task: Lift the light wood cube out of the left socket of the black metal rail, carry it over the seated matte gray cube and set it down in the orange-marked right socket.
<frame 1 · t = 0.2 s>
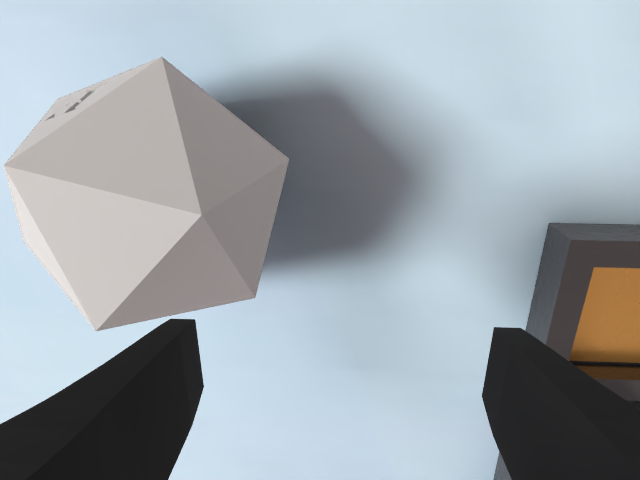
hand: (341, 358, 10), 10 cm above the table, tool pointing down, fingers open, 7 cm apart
rail: (583, 415, 23), on the table
die: (194, 173, 19), on the table
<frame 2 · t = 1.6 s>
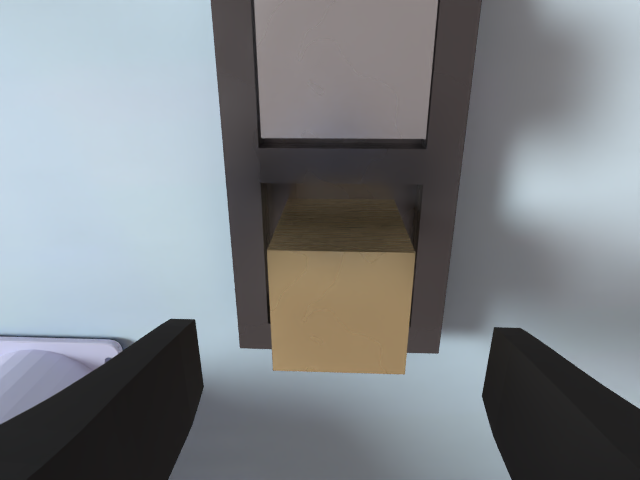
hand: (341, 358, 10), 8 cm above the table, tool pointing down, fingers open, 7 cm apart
light wood cube: (339, 247, 17), point 1 cm above the table, touching rail
rail: (343, 55, 15), on the table
matte gray cube: (343, 54, 14), point 1 cm above the table, touching rail
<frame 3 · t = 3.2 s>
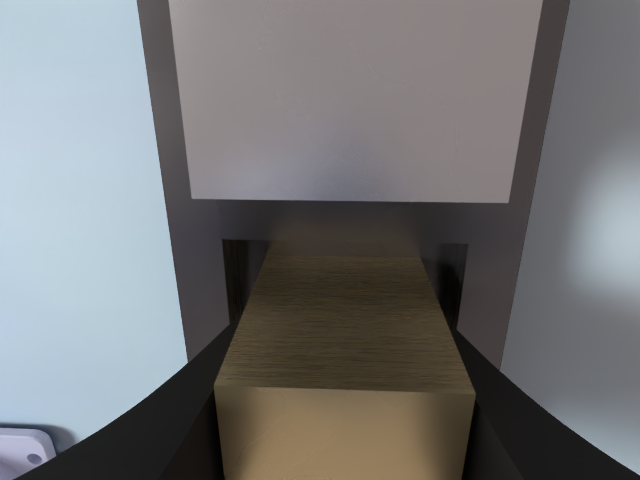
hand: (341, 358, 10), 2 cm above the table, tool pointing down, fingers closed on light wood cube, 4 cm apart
light wood cube: (341, 321, 12), point 1 cm above the table, touching gripper, rail
rail: (346, 47, 10), on the table
matte gray cube: (347, 45, 9), point 1 cm above the table, touching rail
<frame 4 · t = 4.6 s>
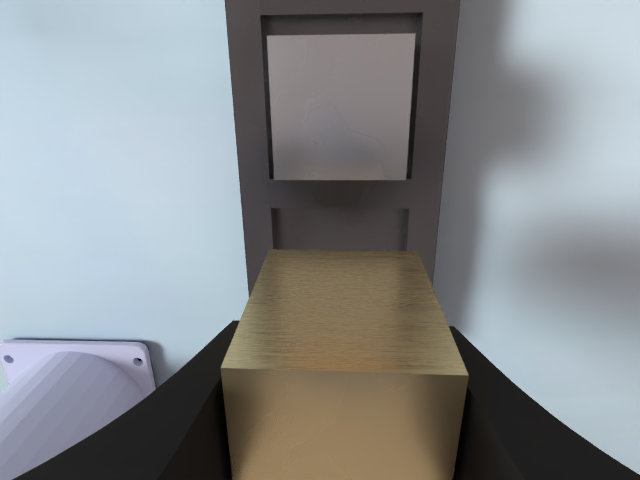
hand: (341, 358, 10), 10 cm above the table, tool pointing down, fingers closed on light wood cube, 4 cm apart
light wood cube: (341, 314, 12), point 8 cm above the table, touching gripper
rail: (340, 98, 18), on the table
matte gray cube: (340, 99, 17), point 1 cm above the table, touching rail
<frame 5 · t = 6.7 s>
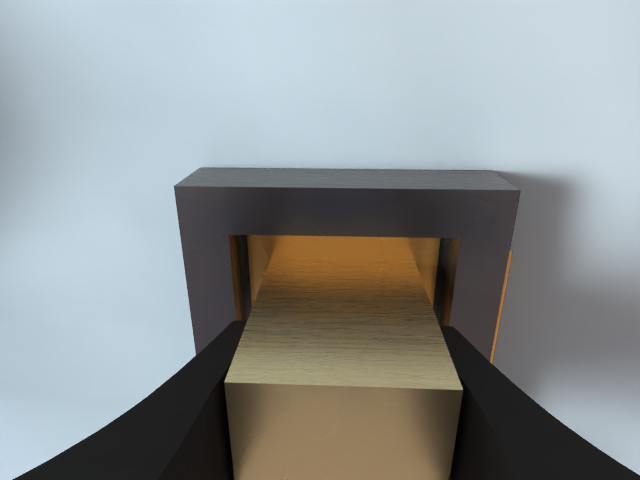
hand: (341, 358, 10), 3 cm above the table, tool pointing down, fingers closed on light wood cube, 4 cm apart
light wood cube: (341, 323, 13), point 1 cm above the table, touching gripper, rail
rail: (338, 463, 16), on the table
when the fingers open (3 cm above the table, at t = 7.3 s): light wood cube stays where it is, resting on rail.
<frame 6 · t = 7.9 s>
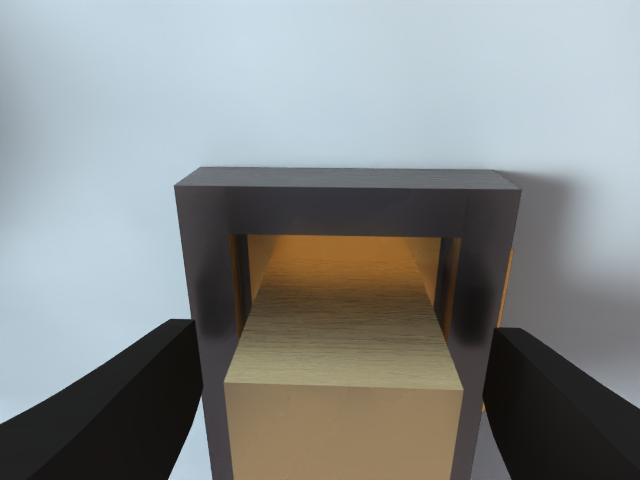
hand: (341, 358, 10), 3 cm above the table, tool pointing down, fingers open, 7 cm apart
light wood cube: (341, 323, 13), point 1 cm above the table, touching rail
rail: (338, 463, 16), on the table
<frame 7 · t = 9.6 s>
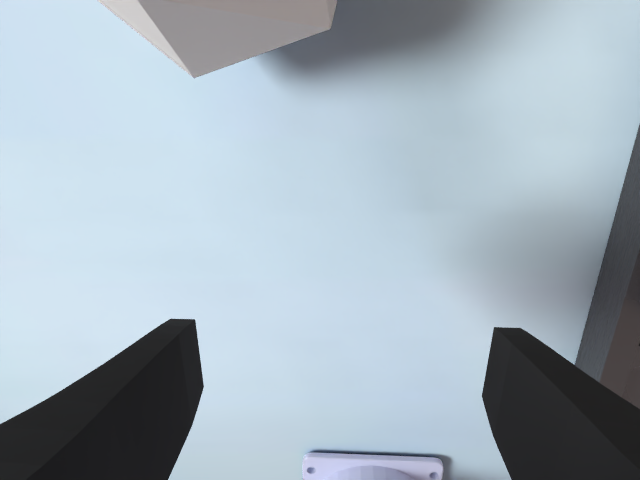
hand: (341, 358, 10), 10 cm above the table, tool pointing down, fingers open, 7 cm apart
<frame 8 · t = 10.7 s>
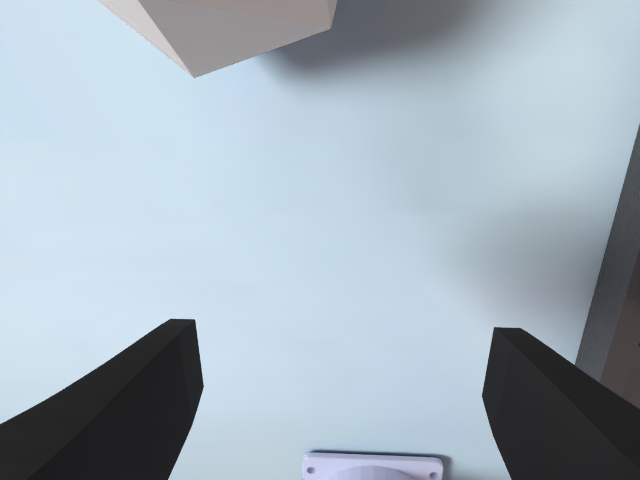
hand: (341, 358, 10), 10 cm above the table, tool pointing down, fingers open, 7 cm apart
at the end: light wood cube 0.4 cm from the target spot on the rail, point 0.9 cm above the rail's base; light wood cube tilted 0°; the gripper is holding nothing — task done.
